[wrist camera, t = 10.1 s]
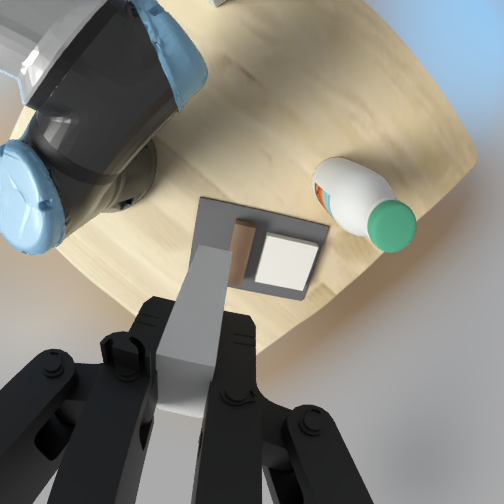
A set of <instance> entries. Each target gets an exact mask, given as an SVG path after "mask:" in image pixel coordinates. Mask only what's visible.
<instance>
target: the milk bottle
mask: <svg viewBox="0 0 504 504" xmlns="http://www.w3.org/2000/svg"><path fill="white" fill-rule="evenodd" d="M312 189H313V192H314V195H315V196H316V198H317V199H318V201H319V202H320V203H321V204H322V206H323V207H324V208H325V209H326V210H327V212H328V213H329V214H330V215H331V216H332V218H333V219H334V220H335V221H336V222H337V223H338V224H339V225H340V226H341V227H342V228H343V229H345V230H346V231H348V232H350V233H352V234H354V235H358V236H363V237H369V239H370V240H371V241H372V242H373V243H374V244H375V245H376V246H377V247H378V248H379V249H380V250H382V251H385V252H390V253H393V252H398V251H400V250H402V249H404V248H405V247H406V246H407V245H408V244H409V243H410V242H411V240H412V239H413V237H414V235H415V232H416V218H415V215H414V213H413V212H412V210H411V209H410V208H409V207H408V206H407V205H405V204H404V203H402V202H400V201H399V200H397V199H396V198H395V195H394V192H393V190H392V188H391V186H390V185H389V184H388V182H387V181H386V180H385V179H384V178H383V177H382V176H380V175H379V174H378V173H376V172H374V171H372V170H371V169H368V168H366V167H364V166H362V165H360V164H357V163H355V162H352V161H350V160H347V159H344V158H339V157H334V158H329V159H327V160H325V161H323V162H322V163H320V164H319V165H318V167H317V168H316V169H315V171H314V174H313V177H312Z"/></svg>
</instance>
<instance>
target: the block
mask: <svg viewBox="0 0 504 504" xmlns="http://www.w3.org/2000/svg"><path fill="white" fill-rule="evenodd" d="M255 230H256V223H254V222H250V221H245V220H241V219H236V221H235V226H234V230H233V235H232V239H231V244H230V249H229V251H231V252H232V259H231V265H230V271H229V278H228V284H229V285H234V286H239V287H241V285H242V281H243V277H244V273H245V270H246V266H247V262H248V258H249V254H250V250H251V246H252V242H253V238H254V234H255Z"/></svg>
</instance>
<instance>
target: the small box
mask: <svg viewBox="0 0 504 504" xmlns="http://www.w3.org/2000/svg"><path fill="white" fill-rule="evenodd" d="M206 1H208V2H209V3H211V4H212V5H213V6H215V7H218V6H219V5H221V4H222V3H223V2H225V1H226V0H206Z"/></svg>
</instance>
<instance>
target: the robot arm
mask: <svg viewBox="0 0 504 504" xmlns="http://www.w3.org/2000/svg"><path fill="white" fill-rule="evenodd" d="M0 72H3V73H5V74H7V75H9V76H11V77H13V78H15V79H16V80H17V82H18V84H19V88H20V94H21V99H22V104H24V105H26V106H28V107H30V108H32V109H34V110H36V112H35V114H34V116H33V117H32V119H31V121H30V123H29V124H28V126H27V128H26V130H25V132H24V134H23V135H22V137H21V138H20V139H17V140H14V139H12V140H9V141H8V142H6V143H5V144H4V145H2V146H0V232H1V234H2V235H3V237H4V238H5V239H6V240H7V242H8V243H9V244H10V245H11V246H13V247H14V248H15V249H17V250H18V251H20V252H22V253H25V254H27V253H28V254H30V255H40V254H43V253H45V252H46V251H48V250H50V249H51V248H53V247H57V246H59V244H61V243H62V242H63V240H64V239H65V238H66V237H68V236H69V235H70V234H72V233H73V232H74V231H76V230H77V229H79V228H80V227H81V226H83V225H84V224H85V223H87V222H88V221H90V220H91V219H92V218H94V217H95V216H97V215H98V214H100V213H113V212H119V211H122V210H125V209H127V208H129V207H131V206H132V205H134V204H135V203H136V202H138V201H139V200H140V199H141V198H142V197H143V196H144V195H145V194H146V193H147V191H148V190H149V188H150V186H151V184H152V182H153V179H154V176H155V171H156V152H155V147H154V144H153V142H152V139H151V138H152V137H153V136H154V135H155V134H156V133H157V132H158V131H159V130H160V129H161V128H162V127H163V126H164V125H165V124H166V123H167V122H168V121H169V120H170V119H171V118H172V117H173V116H174V115H175V114H176V113H177V112H178V113H180V112H181V111H182V110H183V106H184V105H185V104H186V103H187V102H188V101H189V100H190V99H191V98H192V97H193V96H194V95H195V94H196V93H197V92H198V91H199V90H200V89H201V88H202V87H203V86H204V84H205V82H206V80H207V76H208V70H207V66H206V63H205V61H204V59H203V57H202V55H201V54H200V52H199V51H198V49H197V48H196V46H195V45H194V43H193V42H192V40H191V39H190V38H189V36H188V35H187V34H186V33H185V31H184V30H183V29H182V28H181V26H180V25H179V24H178V23H177V22H176V20H175V19H174V18H173V17H172V16H171V15H170V14H169V13H168V12H166V11H165V10H164V8H163V7H162V6H160V4H159V3H158V2H157V1H156V0H0ZM231 259H232V252H231V251H226V250H222V249H217V248H212V247H208V246H203V245H199V246H198V249H197V251H196V253H195V256H194V258H193V260H192V263H191V265H190V267H189V270H188V272H187V275H186V277H185V280H184V282H183V284H182V287H181V289H180V292H179V294H178V297H177V299H176V301H172V300H168V299H164V298H160V297H156V296H153V297H152V298H150V299H149V300H147V301H146V302H144V303H143V305H142V307H141V309H140V311H139V314H138V315H137V317H136V318H135V321H134V322H133V324H132V326H131V328H130V330H129V332H124V331H122V332H116V333H112V334H110V335H108V336H106V337H105V338H104V339H103V340H102V341H101V342H100V346H101V352H102V357H103V362H104V363H100V364H82V363H74V361H73V358H72V357H71V356H70V355H69V354H68V353H67V352H64V351H62V350H60V349H49V350H45V351H43V352H41V353H40V354H38V355H37V356H36V357H35V358H34V359H33V360H31V361H30V362H29V363H28V364H27V365H26V366H25V367H24V368H23V369H22V370H21V371H20V372H19V373H18V374H16V375H15V377H13V378H12V379H11V380H10V381H9V382H8V383H7V384H6V385H5V386H4V387H3V388H2V389H1V390H0V504H33V502H34V501H35V499H36V498H37V496H38V495H39V494H40V493H41V491H42V490H43V488H44V487H45V486H46V484H47V483H48V481H49V480H50V479H51V477H52V476H53V475H54V473H55V472H56V471H57V469H58V468H59V469H58V471H57V475H56V477H55V480H54V483H53V486H52V489H51V492H50V495H49V498H48V502H47V504H135V501H136V496H137V492H138V487H139V483H140V478H141V474H142V469H143V464H144V461H145V456H146V452H147V448H148V444H149V440H150V436H151V432H152V428H153V424H154V411H155V407H156V404H157V408H158V409H162V410H166V411H170V412H174V413H179V414H183V415H188V416H193V417H198V418H203V422H202V428H201V433H200V437H199V442H198V443H199V446H198V454H197V461H196V468H195V477H194V484H193V492H192V500H191V504H262V468H263V472H264V475H265V478H266V481H267V485H268V488H269V491H270V494H271V497H272V500H273V503H274V504H374V503H373V501H372V499H371V497H370V495H369V493H368V490H367V488H366V487H365V484H364V482H363V480H362V478H361V476H360V474H359V472H358V470H357V468H356V466H355V463H354V461H353V459H352V457H351V455H350V453H349V451H348V449H347V447H346V445H345V443H344V441H343V439H342V437H341V434H340V432H339V430H338V428H337V426H336V424H335V422H334V420H333V419H332V417H331V416H330V414H329V413H328V412H326V411H325V410H324V409H322V408H320V407H318V406H315V405H301V406H298V407H295V408H294V409H293V410H290V409H288V408H285V407H282V406H280V405H277V404H274V403H273V402H271V401H269V400H268V399H266V398H265V397H264V396H263V395H262V394H261V393H260V391H259V389H258V387H257V384H256V348H255V347H256V339H255V338H256V326H255V324H254V322H253V320H252V319H251V317H250V316H249V315H243V314H238V313H233V312H228V311H223V310H224V304H225V297H226V290H227V284H228V278H229V271H230V265H231Z"/></svg>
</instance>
